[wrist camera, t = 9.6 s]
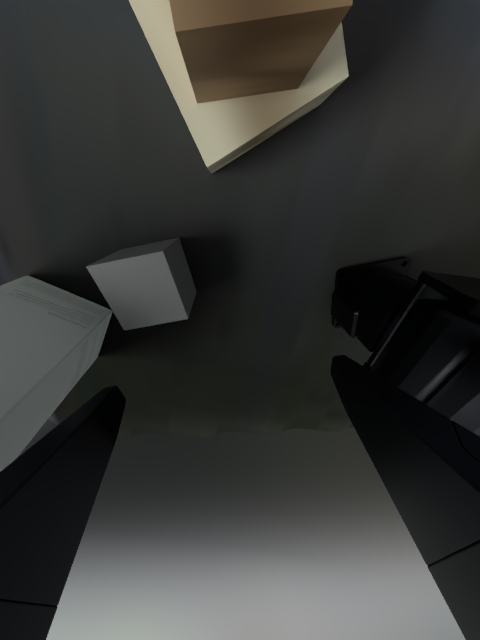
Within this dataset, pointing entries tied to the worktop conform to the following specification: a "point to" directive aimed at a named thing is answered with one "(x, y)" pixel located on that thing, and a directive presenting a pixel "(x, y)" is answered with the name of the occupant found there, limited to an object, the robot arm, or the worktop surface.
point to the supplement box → (41, 355)
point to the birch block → (244, 112)
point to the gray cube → (146, 283)
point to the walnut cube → (252, 43)
